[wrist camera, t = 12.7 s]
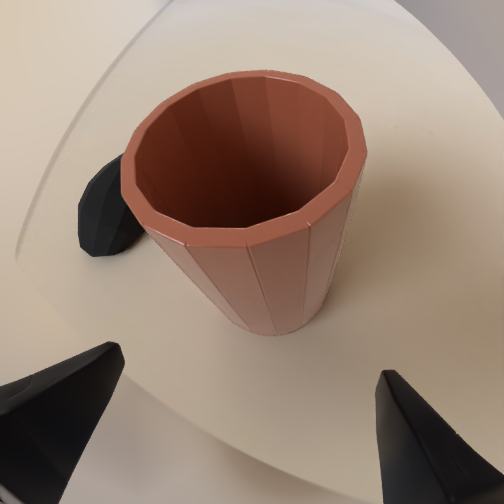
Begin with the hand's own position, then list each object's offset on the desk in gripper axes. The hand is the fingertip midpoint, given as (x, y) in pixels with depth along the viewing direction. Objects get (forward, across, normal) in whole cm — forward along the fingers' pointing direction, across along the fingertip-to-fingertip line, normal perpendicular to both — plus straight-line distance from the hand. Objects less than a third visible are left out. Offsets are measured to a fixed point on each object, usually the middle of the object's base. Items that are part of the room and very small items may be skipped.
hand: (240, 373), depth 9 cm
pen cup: (+10, 0, +1) cm, 10 cm away
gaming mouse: (+15, +11, -4) cm, 19 cm away
